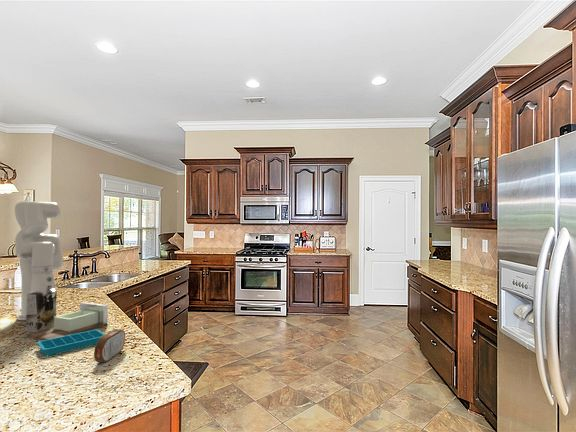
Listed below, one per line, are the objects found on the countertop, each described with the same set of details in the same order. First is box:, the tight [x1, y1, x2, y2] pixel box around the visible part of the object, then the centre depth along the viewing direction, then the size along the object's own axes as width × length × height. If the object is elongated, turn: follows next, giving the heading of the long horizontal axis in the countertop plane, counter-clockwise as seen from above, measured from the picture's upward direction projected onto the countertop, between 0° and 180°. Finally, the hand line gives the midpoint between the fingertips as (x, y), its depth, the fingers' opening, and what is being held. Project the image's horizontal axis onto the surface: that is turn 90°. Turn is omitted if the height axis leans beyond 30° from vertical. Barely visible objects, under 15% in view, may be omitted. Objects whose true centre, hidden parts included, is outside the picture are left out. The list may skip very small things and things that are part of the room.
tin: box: [93, 328, 126, 363], centre depth 113 cm, size 15×3×8 cm, turn 178°
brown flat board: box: [26, 322, 108, 341], centre depth 142 cm, size 16×24×1 cm, turn 156°
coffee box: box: [25, 289, 58, 333], centre depth 145 cm, size 9×6×16 cm
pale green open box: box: [54, 309, 98, 332], centre depth 145 cm, size 10×13×5 cm
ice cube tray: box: [36, 329, 106, 357], centre depth 124 cm, size 12×20×3 cm, turn 136°
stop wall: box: [79, 301, 109, 324], centre depth 152 cm, size 16×2×8 cm, turn 66°
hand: (42, 309), depth 144 cm, fingers open, 9 cm apart
